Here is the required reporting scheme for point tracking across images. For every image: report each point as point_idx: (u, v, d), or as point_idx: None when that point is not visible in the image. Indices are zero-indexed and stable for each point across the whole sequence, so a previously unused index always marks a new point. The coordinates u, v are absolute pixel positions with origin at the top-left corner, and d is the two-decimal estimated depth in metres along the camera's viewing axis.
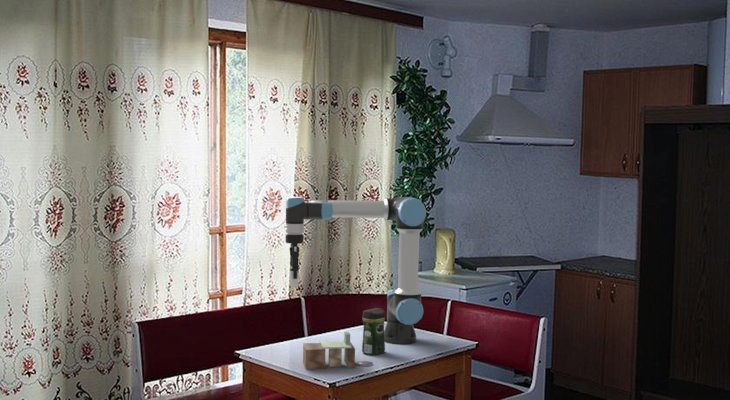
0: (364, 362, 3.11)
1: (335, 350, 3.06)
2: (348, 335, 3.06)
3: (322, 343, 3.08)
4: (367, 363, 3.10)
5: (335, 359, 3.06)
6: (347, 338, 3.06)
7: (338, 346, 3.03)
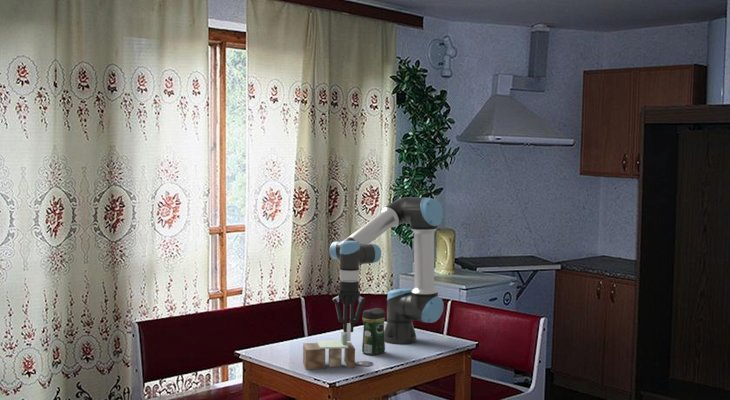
0: (364, 362, 3.11)
1: (335, 350, 3.06)
2: (345, 335, 3.06)
3: (319, 343, 3.08)
4: (367, 363, 3.10)
5: (335, 359, 3.06)
6: (344, 338, 3.06)
7: (335, 346, 3.03)
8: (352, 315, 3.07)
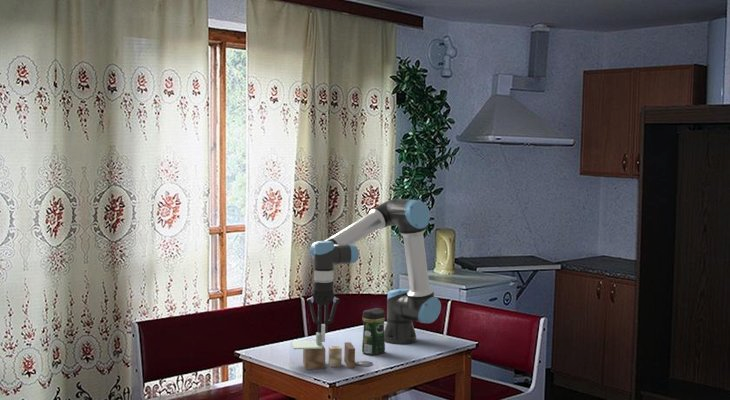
0: (364, 362, 3.11)
1: (335, 350, 3.06)
2: (319, 336, 3.04)
3: (293, 344, 3.06)
4: (367, 363, 3.10)
5: (335, 359, 3.06)
6: (318, 339, 3.04)
7: (309, 347, 3.01)
8: (326, 316, 3.06)
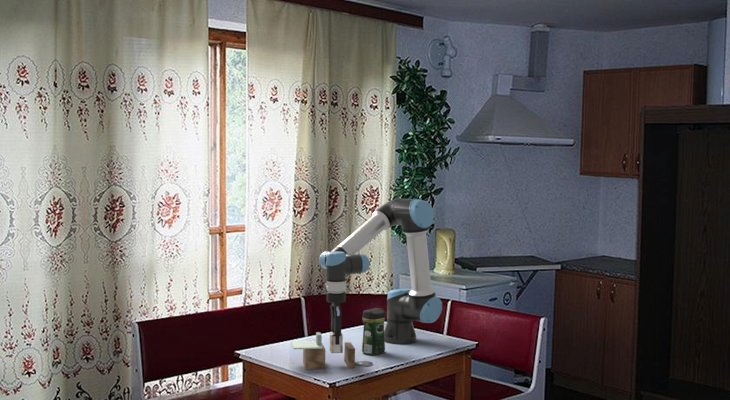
0: (364, 362, 3.11)
1: None
2: (319, 336, 3.04)
3: (293, 344, 3.06)
4: (367, 363, 3.10)
5: None
6: (318, 339, 3.04)
7: (309, 347, 3.01)
8: None
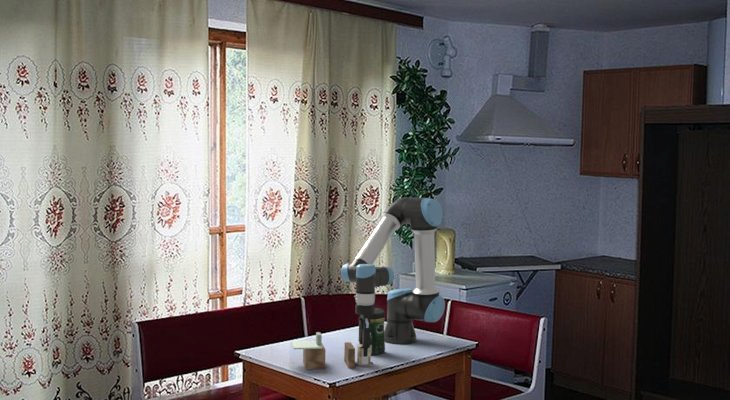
0: None
1: None
2: (319, 336, 3.04)
3: (293, 344, 3.06)
4: None
5: None
6: (318, 339, 3.04)
7: (309, 347, 3.01)
8: None
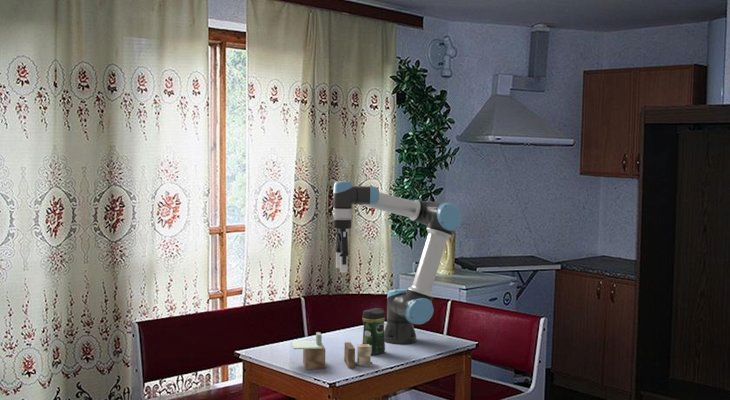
0: None
1: (364, 348, 3.08)
2: (319, 336, 3.04)
3: (293, 344, 3.06)
4: None
5: (364, 357, 3.08)
6: (318, 339, 3.04)
7: (309, 347, 3.01)
8: None
